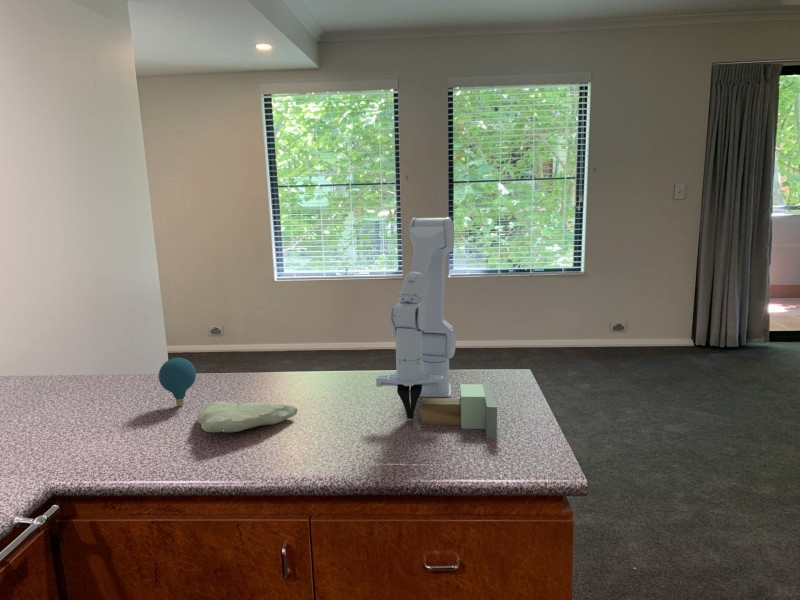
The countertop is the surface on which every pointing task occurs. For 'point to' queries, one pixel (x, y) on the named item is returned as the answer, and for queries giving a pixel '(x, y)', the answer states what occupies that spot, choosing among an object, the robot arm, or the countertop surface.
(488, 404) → the board
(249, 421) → the rock
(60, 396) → the countertop surface
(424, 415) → the bar
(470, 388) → the block
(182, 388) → the light bulb
